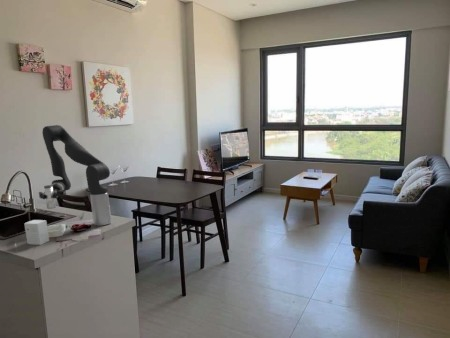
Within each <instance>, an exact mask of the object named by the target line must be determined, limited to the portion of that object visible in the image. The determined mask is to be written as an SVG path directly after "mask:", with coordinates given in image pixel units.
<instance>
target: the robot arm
mask: <svg viewBox="0 0 450 338" xmlns="http://www.w3.org/2000/svg"><path fill="white" fill-rule="evenodd" d="M42 137H43V141H44V145H45V148H46V150H47V154H48V155H49V159H50V165H51V170H52V174H53V176H54V177H60V178H61V179H54V180H52V182H51V185H53V191H54V194H52V196H53V198H54V199H58V198H60V197H62V196H65V195H67V191H70V189H71V187H72V184H71V181H70V178H69V177H68V175H67V173H66V165H65V161H64V159H63V157H62V156H61V155H60V153H59V152H58V151H57V149H56V148H55V146H54V142H59V141H60V142H61V143H63V144H64V153H65V154H66V155H67V157H69V158H70V159H71V160H72V161H73V162H75V163H77V164H80V165H83V166H85V167H86V169H85V177H86V181H87V183H86V184H87V187H88V191H89V195H90V196H89V197H90V205H91V213H92V222H93V225H94V226H96V225H97V226H101V227H102V226H106V225H110V224H112V215H111V213H112V212H111V206H110V205H111V204H110V199H109V190H108V187H107V186H105V185H101V184H100V181H105V180H106V179H108V178H109V177H110V175H111V174H110V173H111V171H110V169H109V166H108V165H107V164H105V163H104V162H103V161H101V160H100V159H98V158H97V157H96V156H94V155H93V154H92V153H90V152H89V151H88V150H86V148H84V146H83V145H82V144H80V143H79V142H78V141H77V140H76V139H75V138H73V137H72V136H71V134H69V132H68V131H67V130H66V129H65V128H64V127H63V126H61V125H59V124H56V125H47V126H44V127H43V128H42ZM38 195H39V199H42V200H46V197H45V191H44V192H42V191H39V192H38ZM97 226H96V227H97Z"/></svg>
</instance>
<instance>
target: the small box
mask: <svg viewBox="0 0 450 338" xmlns="http://www.w3.org/2000/svg"><path fill="white" fill-rule="evenodd" d="M23 224H24V231H25V236H26V243H27V245H35V246H36V245H38V246H41V245H43V244H45V243H48V242H50V238H49V235H48V228H47V226H48V222H47V220H45V219H44V220H43V219H32V220H29V221H27V222H25V223H23Z"/></svg>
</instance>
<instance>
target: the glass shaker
mask: <svg viewBox="0 0 450 338" xmlns="http://www.w3.org/2000/svg"><path fill="white" fill-rule="evenodd" d="M43 188H44V192H45V197H46V199H45V201H46V209H47V210H54V209H55V208H56V200H55V199H56V198H55V199H54V198H53V196H52V194H54V191H53V185H52V184H48V185H44V187H43Z"/></svg>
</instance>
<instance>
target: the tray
mask: <svg viewBox="0 0 450 338" xmlns="http://www.w3.org/2000/svg"><path fill="white" fill-rule="evenodd" d="M47 228H48V235H49V239H50V238H57V237H62V236H63V235H64V233H65V232H66V223H61V224H53V225H47Z"/></svg>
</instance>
